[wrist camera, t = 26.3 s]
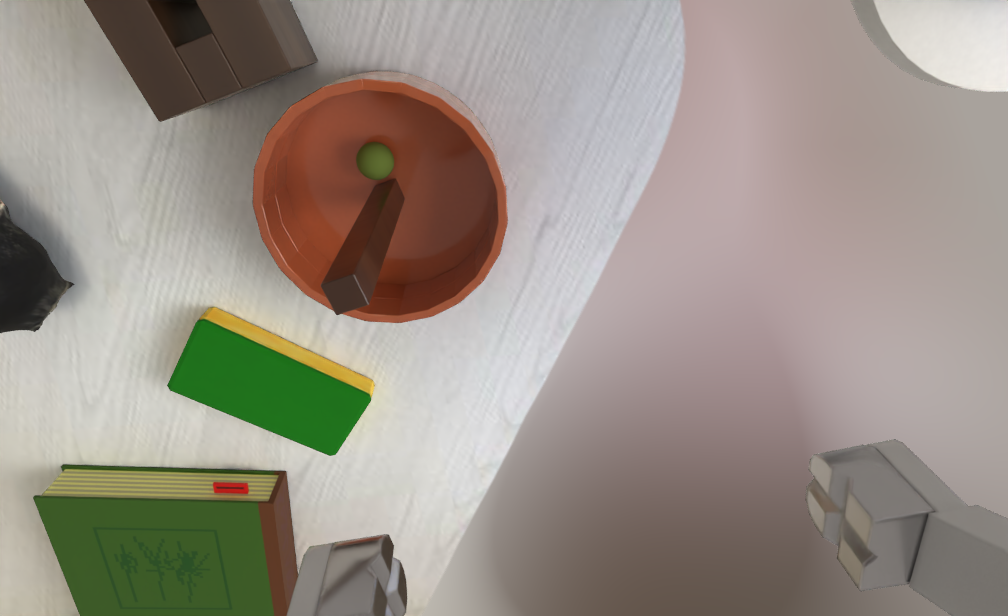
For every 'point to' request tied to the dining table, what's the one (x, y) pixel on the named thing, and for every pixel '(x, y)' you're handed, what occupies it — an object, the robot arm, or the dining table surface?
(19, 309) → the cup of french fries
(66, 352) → the dining table surface
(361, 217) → the stick
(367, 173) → the green ball
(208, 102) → the holder
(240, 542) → the hardcover book
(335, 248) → the bowl
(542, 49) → the dining table surface
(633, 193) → the dining table surface
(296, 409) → the dish sponge
